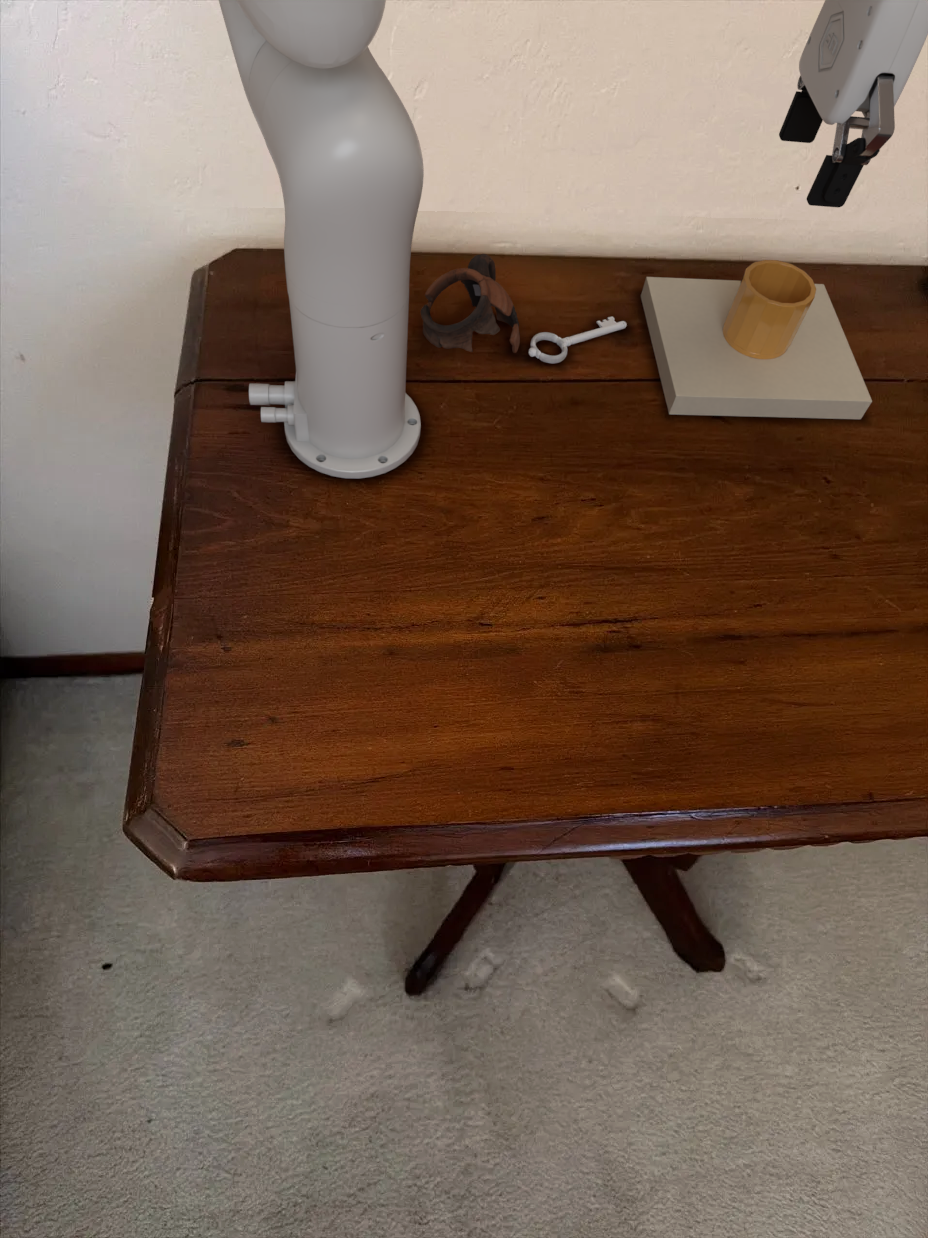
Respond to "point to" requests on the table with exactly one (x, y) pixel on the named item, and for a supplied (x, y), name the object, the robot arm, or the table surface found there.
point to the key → (572, 339)
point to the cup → (768, 309)
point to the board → (748, 358)
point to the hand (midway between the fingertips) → (809, 171)
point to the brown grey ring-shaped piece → (482, 296)
